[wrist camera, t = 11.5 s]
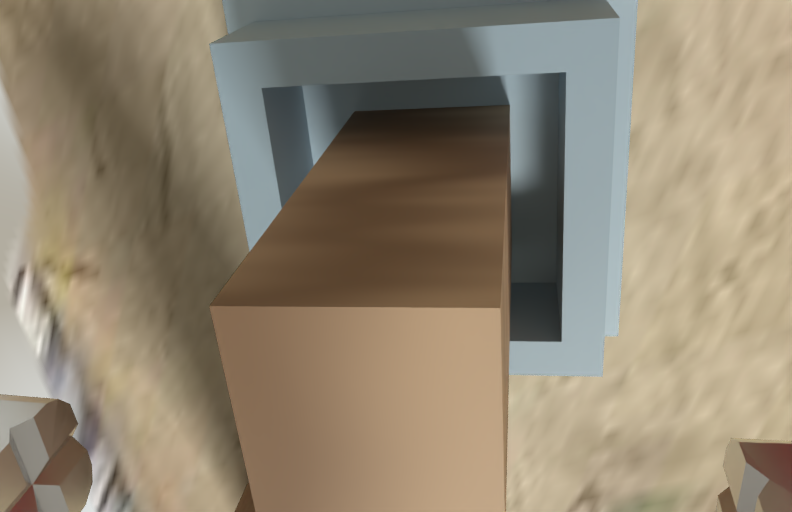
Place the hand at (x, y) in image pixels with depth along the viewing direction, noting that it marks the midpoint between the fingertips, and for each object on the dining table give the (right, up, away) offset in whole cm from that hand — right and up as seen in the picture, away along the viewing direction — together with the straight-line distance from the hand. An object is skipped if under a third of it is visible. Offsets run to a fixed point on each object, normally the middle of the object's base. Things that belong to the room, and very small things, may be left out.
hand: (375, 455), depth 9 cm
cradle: (+1, +5, +11) cm, 12 cm away
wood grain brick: (+1, +4, +10) cm, 11 cm away
